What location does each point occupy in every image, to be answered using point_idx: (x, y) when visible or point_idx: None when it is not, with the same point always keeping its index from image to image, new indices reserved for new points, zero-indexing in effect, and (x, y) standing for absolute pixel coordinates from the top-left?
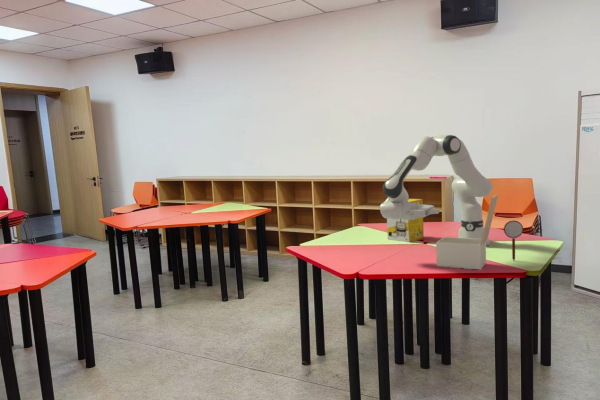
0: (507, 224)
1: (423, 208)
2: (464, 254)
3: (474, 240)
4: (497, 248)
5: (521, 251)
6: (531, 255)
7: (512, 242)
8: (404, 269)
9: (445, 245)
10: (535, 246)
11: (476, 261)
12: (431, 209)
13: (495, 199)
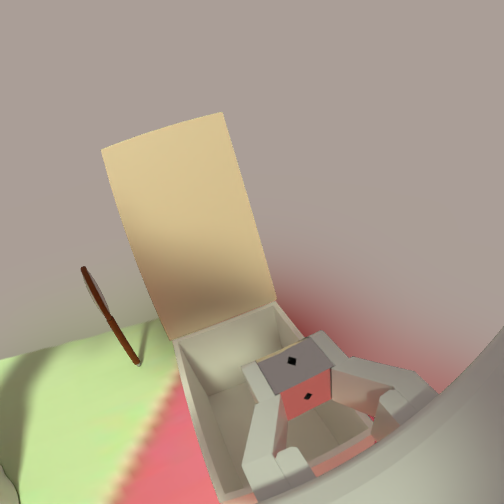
0: (93, 284)
1: (497, 432)
2: None
3: (186, 373)
4: (25, 441)
5: (45, 389)
6: (77, 362)
7: (116, 327)
8: None
9: None
10: (7, 382)
11: None
12: (299, 454)
13: (149, 150)
